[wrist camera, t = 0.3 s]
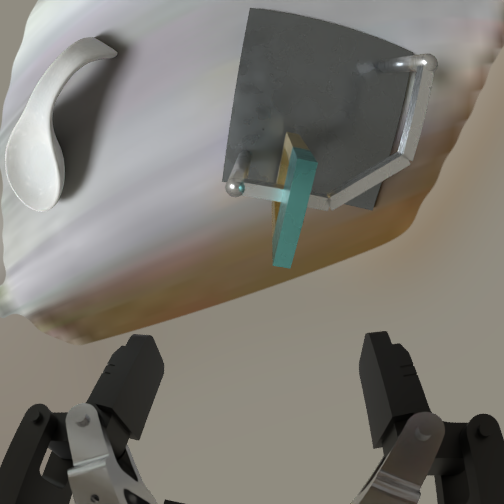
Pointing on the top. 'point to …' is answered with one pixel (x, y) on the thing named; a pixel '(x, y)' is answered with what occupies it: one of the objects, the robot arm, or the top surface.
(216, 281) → the top surface
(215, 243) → the top surface
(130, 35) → the top surface
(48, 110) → the spoon rest
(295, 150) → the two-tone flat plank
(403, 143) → the rod stand
